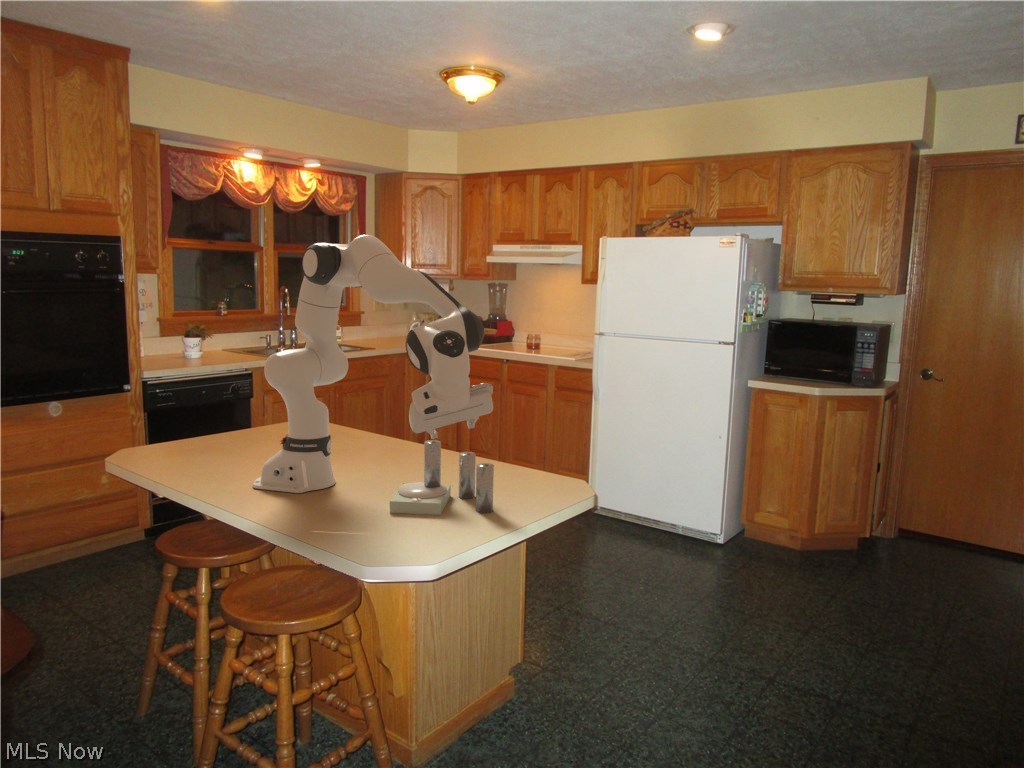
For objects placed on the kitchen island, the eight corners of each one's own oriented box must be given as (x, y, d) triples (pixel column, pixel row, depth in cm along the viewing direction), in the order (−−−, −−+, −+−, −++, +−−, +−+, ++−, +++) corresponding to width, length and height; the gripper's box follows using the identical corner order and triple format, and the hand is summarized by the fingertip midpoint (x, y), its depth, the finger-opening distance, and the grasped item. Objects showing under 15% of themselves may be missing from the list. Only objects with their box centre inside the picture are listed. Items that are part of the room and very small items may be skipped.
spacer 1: (422, 487, 189) (422, 443, 188) (425, 482, 194) (426, 439, 192) (439, 488, 189) (439, 444, 187) (441, 483, 193) (442, 440, 192)
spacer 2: (457, 498, 192) (458, 455, 191) (460, 493, 197) (460, 451, 195) (473, 499, 192) (474, 456, 190) (475, 494, 196) (476, 452, 195)
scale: (389, 512, 180) (389, 498, 179) (403, 493, 195) (403, 481, 195) (440, 514, 179) (440, 501, 178) (450, 495, 195) (450, 483, 194)
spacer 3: (474, 512, 181) (475, 466, 179) (476, 507, 185) (477, 462, 184) (491, 513, 181) (492, 467, 179) (493, 508, 185) (494, 463, 183)
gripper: (488, 372, 168) (487, 411, 178) (404, 394, 162) (408, 433, 172) (498, 390, 164) (496, 429, 174) (412, 413, 158) (416, 452, 168)
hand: (452, 431), depth 173 cm, fingers open, 8 cm apart
